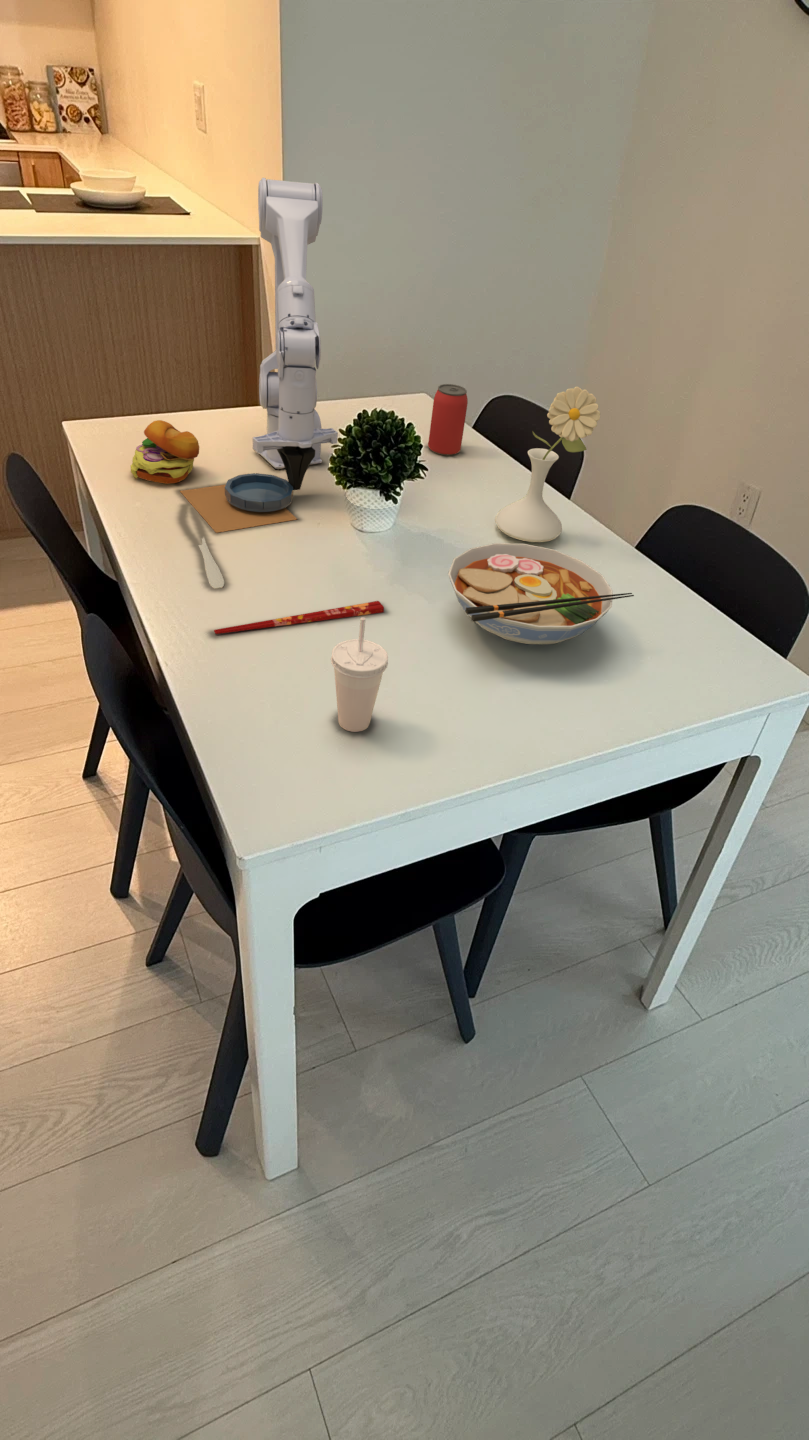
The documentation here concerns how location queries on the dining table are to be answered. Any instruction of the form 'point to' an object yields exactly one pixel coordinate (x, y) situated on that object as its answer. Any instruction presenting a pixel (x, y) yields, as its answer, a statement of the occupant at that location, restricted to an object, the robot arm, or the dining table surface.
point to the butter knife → (211, 567)
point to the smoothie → (357, 679)
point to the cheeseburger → (165, 454)
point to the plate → (259, 492)
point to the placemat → (229, 510)
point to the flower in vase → (531, 514)
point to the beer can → (448, 419)
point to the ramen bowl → (529, 592)
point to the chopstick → (312, 617)
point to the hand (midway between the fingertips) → (294, 487)
